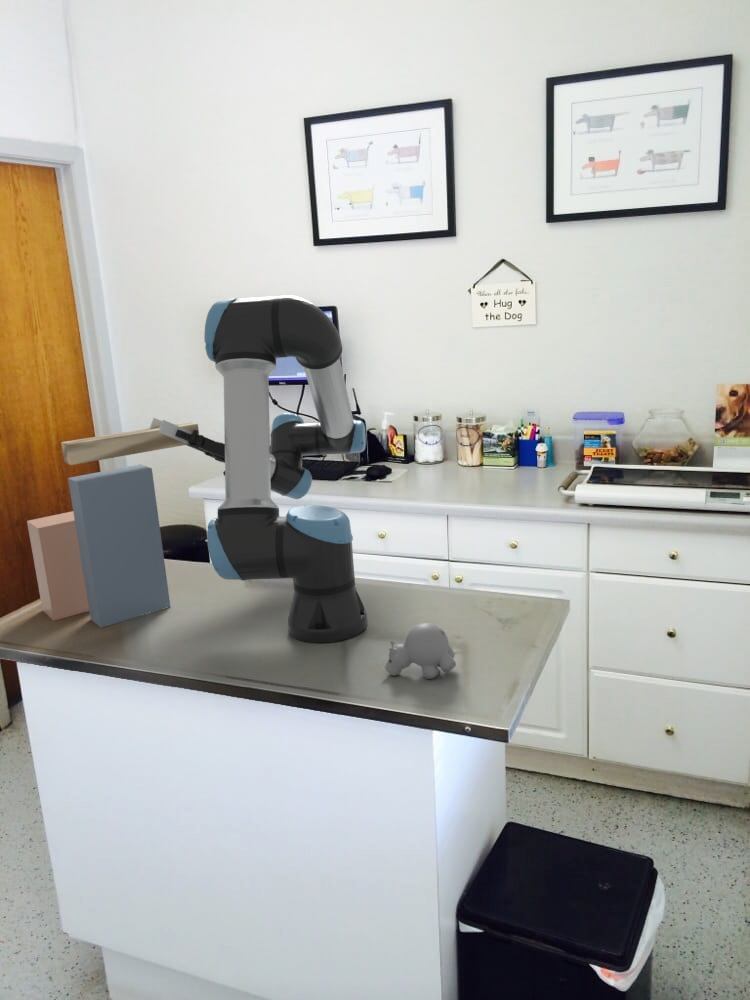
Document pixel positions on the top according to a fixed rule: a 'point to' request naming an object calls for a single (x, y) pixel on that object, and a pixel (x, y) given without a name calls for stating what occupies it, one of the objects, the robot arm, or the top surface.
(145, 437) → the bar
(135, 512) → the post
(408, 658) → the round bodied animal figurine
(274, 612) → the top surface
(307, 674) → the top surface
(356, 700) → the top surface
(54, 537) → the step
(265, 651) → the top surface
